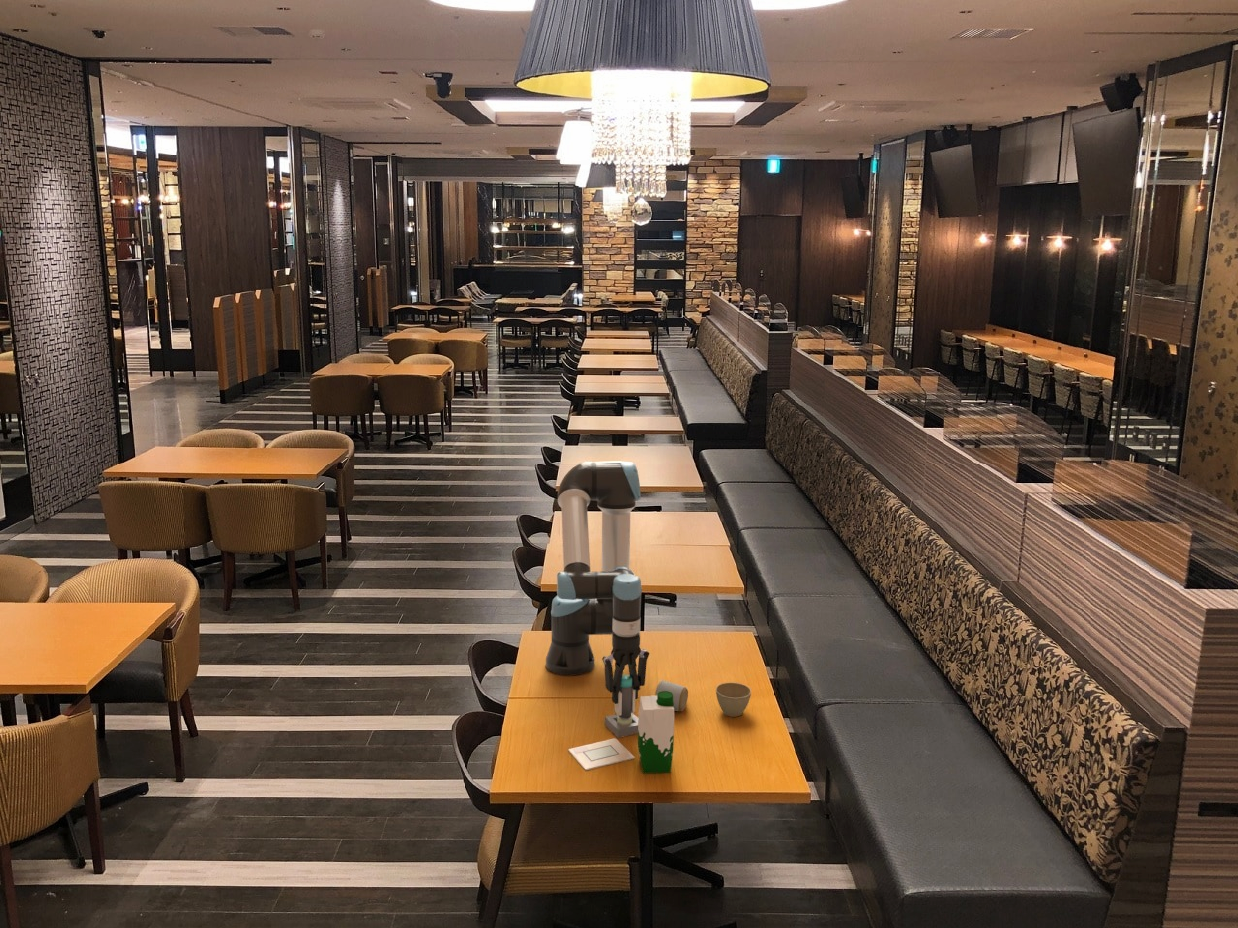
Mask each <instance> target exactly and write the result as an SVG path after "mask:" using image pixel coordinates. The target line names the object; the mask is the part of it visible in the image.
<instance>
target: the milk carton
mask: <svg viewBox="0 0 1238 928" xmlns="http://www.w3.org/2000/svg"><path fill="white" fill-rule="evenodd" d="M638 706H639V707H638V716H637V717H638V733H637V750H638V755H639V759H640V760H639V761H640V765H641V770H642V774H665V773H666V774H670V773H672V772H671V771H672V765H673V764H672V763H673V755H674V743H675V741H674V740H675V739H674V737H675V711H674V702H673V694H672V693H671V692H668V691H661V692H659V693H658V695H657V696H655V694H654V695H653V694H651V695H647V696H646V695H644V696H643V695H641V696H640V697H639V705H638Z"/></svg>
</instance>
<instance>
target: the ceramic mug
mask: <svg viewBox="0 0 1238 928" xmlns="http://www.w3.org/2000/svg"><path fill="white" fill-rule="evenodd" d="M661 691H668V692H671V693H672V694H673V702H674V712H675V711H676V712H682V711H683V710H685V708H686V706H687V703H688V698H689V690H688V688H687V687H685V686H684V685H681V684H676V683H673V682H669V681H667V680H664V679H662V680H661V679H660V681H659V683H658V684H657V686H656V689H655V691H654V692H655V693H654V695H655V696H657V695H658V693H659V692H661Z"/></svg>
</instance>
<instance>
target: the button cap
mask: <svg viewBox="0 0 1238 928" xmlns="http://www.w3.org/2000/svg"><path fill="white" fill-rule="evenodd" d="M617 723H618V724H619V725H620V726H623V725H627V724H631V723H632V717H630V718H629V720H621V719H620V717H619V716H618V717H617Z"/></svg>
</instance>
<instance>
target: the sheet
mask: <svg viewBox="0 0 1238 928" xmlns="http://www.w3.org/2000/svg"><path fill="white" fill-rule="evenodd" d="M567 751H568V752H569V754H570V755H571V756H572V757H573V758H574V759H575V760H576V762H578V763H577V764H579V765H580V766H581V767H582V768H583V769H584V770H585V771H589V770H590V771H591V770H594V769H598V768H601V767H607V766H610V765H613V764H619V763H623V762H626V761H630V760H634V759H635V756H634V755H633V754H632V753H631V752H630V751H629V750H628V749H627V748H626V747H625V746H624V745H623V744H622V743H621V742H620V741H619V740H618V739H617V738H616V737H614V738H611V739H605V740H602V741H597V742H594V743H589V744H585V745H581V746H576V747H572V748H569V749H567Z"/></svg>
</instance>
